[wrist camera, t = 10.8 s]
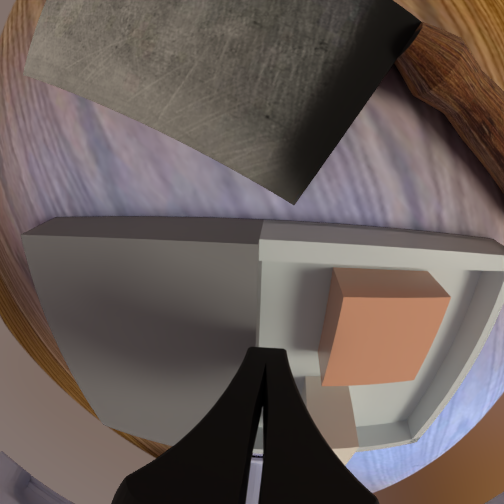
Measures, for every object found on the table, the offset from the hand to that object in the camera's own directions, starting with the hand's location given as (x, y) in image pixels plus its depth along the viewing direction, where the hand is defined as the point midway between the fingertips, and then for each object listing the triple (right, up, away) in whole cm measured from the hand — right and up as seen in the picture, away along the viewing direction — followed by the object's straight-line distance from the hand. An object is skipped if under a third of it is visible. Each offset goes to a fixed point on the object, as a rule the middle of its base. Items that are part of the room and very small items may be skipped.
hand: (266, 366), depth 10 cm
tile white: (+2, -6, +3) cm, 7 cm away
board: (-6, -1, +6) cm, 8 cm away
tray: (+6, -2, +5) cm, 8 cm away
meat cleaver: (+2, +11, 0) cm, 11 cm away
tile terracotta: (+5, 0, 0) cm, 5 cm away
